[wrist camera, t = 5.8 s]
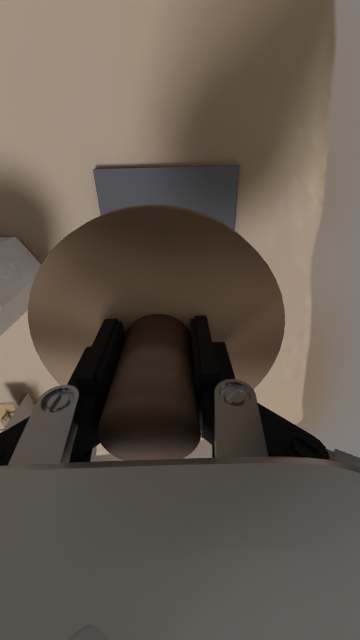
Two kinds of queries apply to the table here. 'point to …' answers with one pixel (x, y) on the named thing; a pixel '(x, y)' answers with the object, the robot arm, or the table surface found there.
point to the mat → (171, 189)
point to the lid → (155, 317)
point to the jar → (15, 280)
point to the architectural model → (22, 412)
